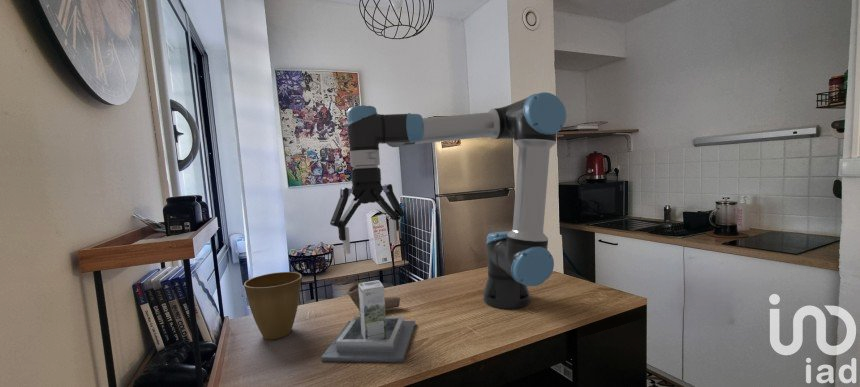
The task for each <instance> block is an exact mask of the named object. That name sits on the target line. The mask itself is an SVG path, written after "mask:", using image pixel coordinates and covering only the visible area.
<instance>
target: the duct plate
mask: <svg viewBox="0 0 860 387" xmlns="http://www.w3.org/2000/svg"><path fill="white" fill-rule="evenodd" d="M385 317H386V337H387V338H386V339H363V336H362V334H361V322H360V316H354V317H353V318H352V320H348V322H347V323H346V324H345V326H344V327H343V328H342V330H341V331H340V332H339V333H338V335H337V336H336V337H335V338H334V340H333V341H331V344H330V345H329V346H328V347H327V349H326V350H325V352H324V353H323V354H322V356H321V357H320V358H321V359H320V361H321V362H337V363H338V362H340V363H341V362H345V363H347V362H348V363H352V362H353V363H404V361H405V357H406V354H407V352H408V348H409V345H410V343H411V340H412V336H413V333H414V331H415V327H416V320H405V317H404V316H385Z"/></svg>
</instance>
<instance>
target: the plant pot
mask: <svg viewBox="0 0 860 387" xmlns="http://www.w3.org/2000/svg"><path fill="white" fill-rule="evenodd" d="M243 287H244V292H245V295H246V299H247V303H248V305H249V309H250V312H251V314H252V316H253V319H254V321H255V324H256V326H257V328H258V330H259V332H260V334H261V336H262V338H263V339H265V340H277V339H282V338H285V337H287V336H289V334H290V333H291V332H292V329H293V327H294V323H295V319H296V316H297V312H298V307H299V301H300V300H299V299H300V295H301V287H302V274H301V273H300V272H295V271H282V272H280V271H279V272H273V273H266V274H265V273H264V274H262V275H258V276H254V277H252V278H250V279H248V280H246V281H245V282H244V284H243Z"/></svg>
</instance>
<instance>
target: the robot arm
mask: <svg viewBox="0 0 860 387" xmlns="http://www.w3.org/2000/svg"><path fill="white" fill-rule="evenodd" d="M346 114H347V135H348V145H349V160H350V163H349V164H350V167H352V169H351V170H350V173H351V184H352V185H351V188H348V187H340V189H339V190H340V191H339V192H340V194H339V195H340V196H339V199H338V201H337V204H336V207H335V209H334V212H333V214H332V217H331V220H330V222H329V225H330V226H332V227H337V228H338V239H339V241H342V248H343V253H346V254H347V255H349V254H351V241H350V227H348V226H347V224H348V223H349V222H350V221H351V219H352V217H353V216H354V214H355V213H356V211H357V209H358V208H359V207H360V206H361V204H363V205H365V204H366V205H367V204H369V203H372V204H373V203H376V204H378V205H379V206H380V207H381V209H382V210H383V211H384V212H385V213H386V214H387V216H389V217H390V219H388V228H389V229H388V232H389V243H390V244H393V245H398V233H397V232H399V229H400V226H399V221H400V220H401V218H402V217H405V212H404V210H403V208H402V206H401V205H400V202H399V200H398V199H397V196H396V194H395V193H394V190H393V185H392V184H391V183H385V184H384V185H382V182H381V181H382V172H381V168H380V167H379V166H380V165H381V161H380V160H381V159H380V144H382V145H384V144H386V145H388V146H389V147H392V148H399V147H403V146H412V145H419V144H427V143H438V142H439V143H440V142H449V141H459V140H460V141H461V140H468V139H477V138H487V137H490V138H491V139H492V140H499V139H500V140H501V139H505V140H507V139H509V140H510V139H513V142H514V144H515V145H516V146H517V147H518V152H517V153H518V154H517V165H516V166H517V168H516V181H515V195H514V208H513V220H512V229H511V230H510V231H509V230H506V231H496V232H490V233H488V234H487V236H486V242H485V244H486V255H487V256H486V261H487V262H486V263H487V279H486V283H485V287H484V290H483V301H484V303H485V304H486V305H488V306H490V307H493V308H495V309H496V308H498V309H504V310H506V309H508V310H509V309H510V310H513V309H520V308H521V309H522V308H524V307H526V306H528V305H529V304H530V302H531V294H530V292H529V288H528V287H537V286H539V285H542V284H543V283H545V281H547V280H549V278H550V277H551V276H552V273H553V271H554V267H555V260H554V257H553V255H552V254H551V252H550V251H549V250H548V248H549V247H548V246H549V243H548V242H549V238H548V237H547V235H546V234H545V233H544V228H545V227H544V226H545V225H544V224H545V210H546V201H547V199H546V198H547V188H548V176H549V175H548V174H549V165H550V150H551V148H552V147H554V146H555V145H556V144H557V135H558V134H557V133H558V132H559V131H561V129H562V128H563V127H564V126H565V124H566V120H567V110H566V107H565V105H564V102H562V100H561V99H560V98H559V97H558V96H557V95H555V94H554V93H552V92H547V91H546V92H545V91H542V92H538V93H533V94H531V95H529V96H528V97H525V98H523V99H520V100H518V101H515V102H513V103H511V104H508V105H505V106H501V107H498V108H497V107H495V108H491V109H490V110H489V111H488V112H480V113H479V112H477V113H467V114H466V113H465V114H457V115H447V116H446V115H445V116H444V115H443V116H434V117H432V116H431V117H424V118H423V116H422V115H421V114H419V113H410V112H408V113H395V114H392V113H391V114H383V113H382V114H380V113H378V111H377V108H376V107H375V106H373V105H355V106H351V107H349V109H348V110H347V113H346ZM382 192H383V193H384V194H385V196H386V197H387V200H388V201H389V203H390V204H389V203H388V202H387V201H386V200H385V198H384V197H383V196H382V195H381V194H382ZM351 194H352V195H353V199H352V200H351V202H350V204H349V206H348V208H347V209H346V210H345V208H346V205H347V203H348V200H349V197H350V196H351ZM390 205H391V206H390ZM344 211H345V212H344ZM343 213H344V214H343Z"/></svg>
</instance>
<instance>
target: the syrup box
mask: <svg viewBox="0 0 860 387" xmlns="http://www.w3.org/2000/svg"><path fill="white" fill-rule="evenodd" d="M358 283H359V282H358ZM358 288H359V305H360V311H359V315H360V316H359V317H360V322H361V334H362V336H363V339H386V338H387V337H386V317H387V316H386V310H385V297H386V295H385V286H384V285H383V284H382V282H381V281H380V280H378V279H377V280H372V281H364V283H359V284H358Z"/></svg>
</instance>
